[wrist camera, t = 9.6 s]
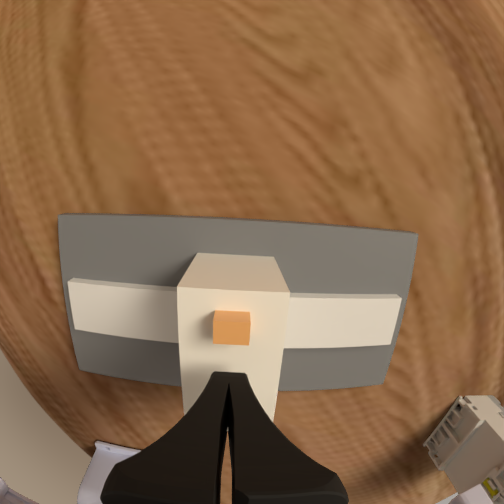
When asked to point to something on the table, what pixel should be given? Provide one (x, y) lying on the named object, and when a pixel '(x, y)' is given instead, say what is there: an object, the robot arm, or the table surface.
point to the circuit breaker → (471, 445)
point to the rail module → (232, 323)
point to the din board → (234, 243)
